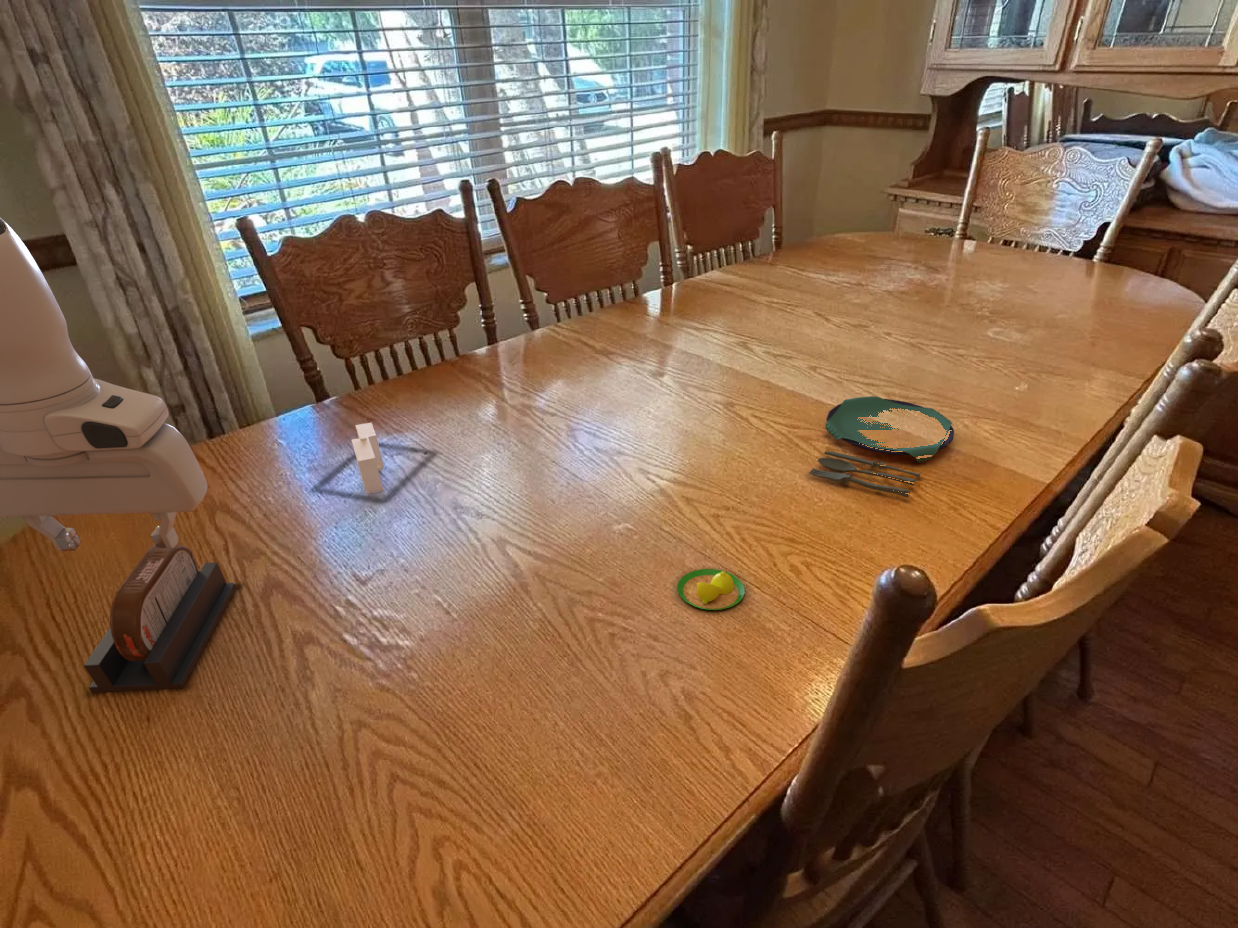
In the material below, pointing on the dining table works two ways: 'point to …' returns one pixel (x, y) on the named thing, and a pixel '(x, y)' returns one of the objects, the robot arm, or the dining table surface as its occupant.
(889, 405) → the cutlery set
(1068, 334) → the dining table surface
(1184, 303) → the dining table surface
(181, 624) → the holder
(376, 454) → the beige double block
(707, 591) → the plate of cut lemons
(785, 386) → the dining table surface
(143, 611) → the tin
